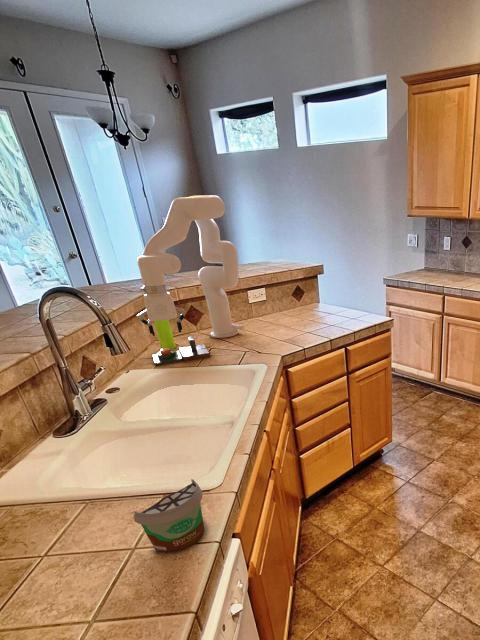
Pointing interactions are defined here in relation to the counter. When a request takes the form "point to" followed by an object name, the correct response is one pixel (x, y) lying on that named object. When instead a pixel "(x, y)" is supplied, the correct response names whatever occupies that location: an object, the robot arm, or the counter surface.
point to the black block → (192, 344)
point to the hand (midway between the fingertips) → (167, 333)
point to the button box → (167, 358)
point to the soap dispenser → (165, 334)
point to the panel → (194, 353)
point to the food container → (174, 520)
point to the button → (165, 351)
